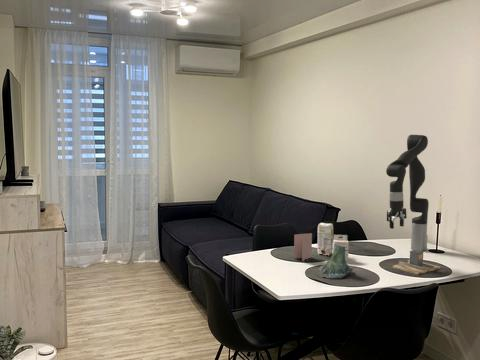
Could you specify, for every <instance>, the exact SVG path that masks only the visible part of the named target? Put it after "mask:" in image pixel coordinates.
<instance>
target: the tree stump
mask: <svg viewBox="0 0 480 360" xmlns="http://www.w3.org/2000/svg"><path fill="white" fill-rule="evenodd" d="M317 270H320V271H322V273H323V274H326V275H327V276H329V277H333V278H340V277H343V278H345V277H347V276H348V275H349V274H351V272H353V270H354V269H353V267H352V266H349V265H348V263H347V261H345V247H343V246H340V245H336V244H334V250H333V251H332V254H331V256H330V259H329V258H328V260H327V261H326V262H325V264H323V265H320V267H318V268H317ZM346 275H347V276H346ZM344 276H345V277H344Z"/></svg>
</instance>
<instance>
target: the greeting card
mask: <svg viewBox="0 0 480 360" xmlns="http://www.w3.org/2000/svg"><path fill="white" fill-rule="evenodd" d="M293 236H294V238H293V241H294V242H293V243H294V244H293V245H294V247H293V254H294V255H293V259H294V258H301V257H302V259H301V261H303V260H305V259H308V258H310V257H313V256H312V255H313V253H312V250H313V249H312V244H313V242H312V241H313V233H311V232H310V233H299V234H297V233H296V234H294V235H293ZM310 259H311V258H310ZM308 260H309V259H308ZM303 262H304V261H303Z"/></svg>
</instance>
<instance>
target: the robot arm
mask: <svg viewBox="0 0 480 360" xmlns="http://www.w3.org/2000/svg"><path fill="white" fill-rule="evenodd" d="M406 139H407V141H406V149H407V150H406V151H403V152H402V153H401V154H400V155H399V156H398V157H397V159H396V160H394V161H392V162H390V164H389V165H388V166H387V167H386V170H385V173H386V175H387V176H388V177H390V178H396V180H393V181H390V183H389V208H390V210H387V211H386V221H387V222H389V229H394V228H395V222H394V221H395V220H396V219H397V218H398V219H399V227H404V225H405V219H407V218H408V217H407V208H405V206H404V181H405V177H406V174H407V168H408V167H409V168H408V169H409V170H408V172H409V173H408V175H409V176H408V177H409V188H410V189H409V209H410V211H411V212H412V213H420V215H419V216H415V217H413V218H411V232H410V233H411V234H410V235H411V236H410V237H411V238H410V249H411V251H412V250H419V251H423V252H424V251H427V250H428V218H429V217H428V216H429V215H428V214H429V199H427V198H423V197H417V193H418V191H419V190H420V188H421V187H422V186H423V184H424V183H425V180H426V169H425V167H424V165H423V163H422V162H421V160H420V159H419V158H418V156H419V155H421V153H423V152H424V151H425V150H426V149H427V146H428V143H429V139H428V137H427V136H426V135H424V134H409V135H408V136H407V138H406Z"/></svg>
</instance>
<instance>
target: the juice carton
mask: <svg viewBox="0 0 480 360" xmlns="http://www.w3.org/2000/svg"><path fill="white" fill-rule="evenodd" d="M333 240H334V224H333V223H327V222H326V223H325V222H320V223H318V225H317V240H316V241H317V242H316V243H317V248H316V249H317V255H319V254H323V255H322V256H326V255H328V256H330V255H331V256H332V254H333ZM328 256H327V257H328Z"/></svg>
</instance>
